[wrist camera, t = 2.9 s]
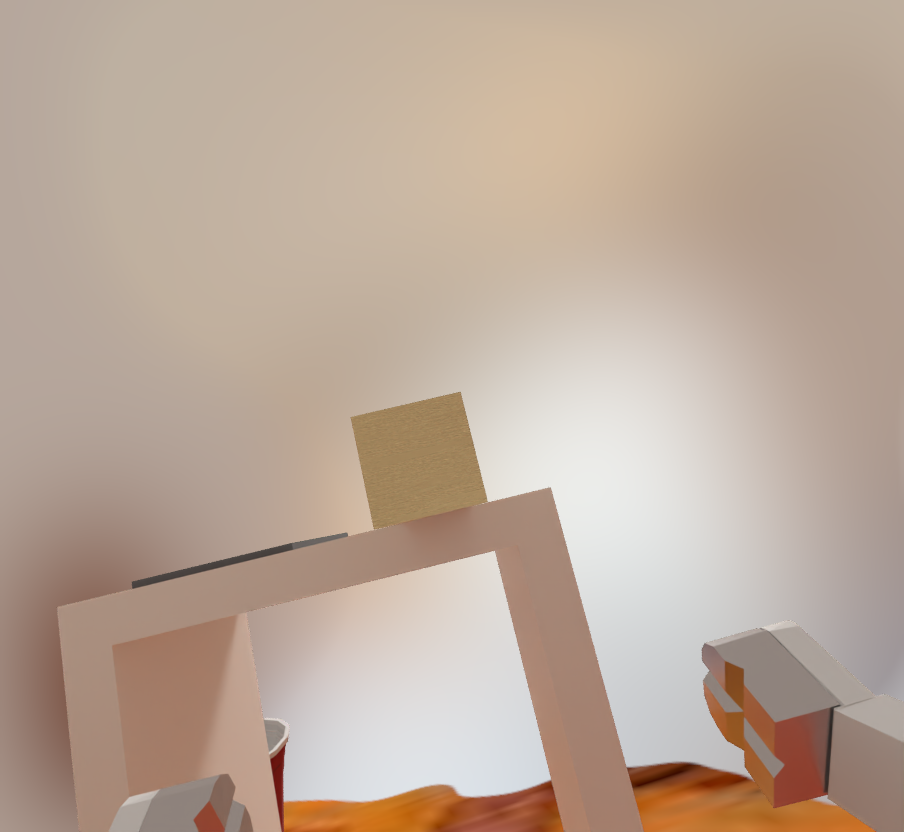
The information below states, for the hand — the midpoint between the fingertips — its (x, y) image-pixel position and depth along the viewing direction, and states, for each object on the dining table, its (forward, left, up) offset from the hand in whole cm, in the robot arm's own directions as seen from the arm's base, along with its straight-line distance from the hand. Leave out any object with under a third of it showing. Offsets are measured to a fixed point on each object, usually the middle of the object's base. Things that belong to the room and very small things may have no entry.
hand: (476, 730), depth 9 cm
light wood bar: (0, -15, +4) cm, 16 cm away
